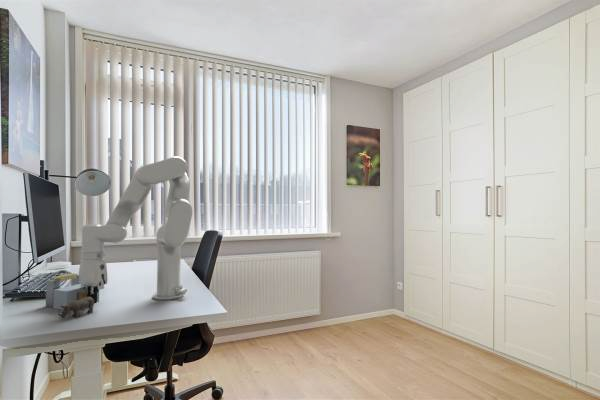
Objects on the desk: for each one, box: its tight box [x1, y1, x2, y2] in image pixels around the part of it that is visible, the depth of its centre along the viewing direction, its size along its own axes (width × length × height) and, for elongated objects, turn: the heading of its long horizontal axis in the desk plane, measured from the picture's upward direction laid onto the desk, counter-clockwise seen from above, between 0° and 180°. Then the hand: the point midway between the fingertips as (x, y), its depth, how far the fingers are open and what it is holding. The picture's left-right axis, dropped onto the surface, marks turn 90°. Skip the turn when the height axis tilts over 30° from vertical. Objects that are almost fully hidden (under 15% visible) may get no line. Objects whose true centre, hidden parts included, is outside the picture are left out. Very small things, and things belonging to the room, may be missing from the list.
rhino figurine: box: [57, 297, 95, 320], centre depth 125 cm, size 4×14×6 cm, turn 158°
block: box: [52, 284, 100, 311], centre depth 140 cm, size 7×14×7 cm, turn 161°
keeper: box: [53, 272, 78, 282], centre depth 142 cm, size 3×7×2 cm, turn 161°
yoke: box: [45, 274, 79, 308], centre depth 142 cm, size 4×13×10 cm, turn 161°
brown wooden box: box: [77, 291, 87, 300], centre depth 140 cm, size 12×7×6 cm, turn 76°
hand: (92, 303), depth 137 cm, fingers closed
